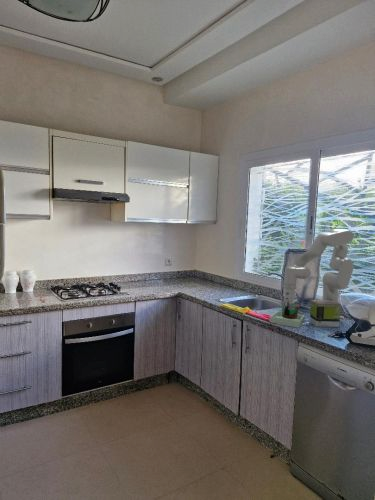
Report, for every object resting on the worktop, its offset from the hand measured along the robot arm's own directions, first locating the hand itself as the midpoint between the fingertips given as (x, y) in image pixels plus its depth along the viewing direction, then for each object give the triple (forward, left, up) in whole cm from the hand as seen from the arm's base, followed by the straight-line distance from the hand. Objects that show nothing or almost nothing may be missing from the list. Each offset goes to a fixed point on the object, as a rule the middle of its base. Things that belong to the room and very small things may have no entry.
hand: (287, 314), depth 222 cm
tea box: (-21, -8, -5) cm, 23 cm away
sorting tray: (0, 0, -5) cm, 5 cm away
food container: (0, +1, -2) cm, 3 cm away
